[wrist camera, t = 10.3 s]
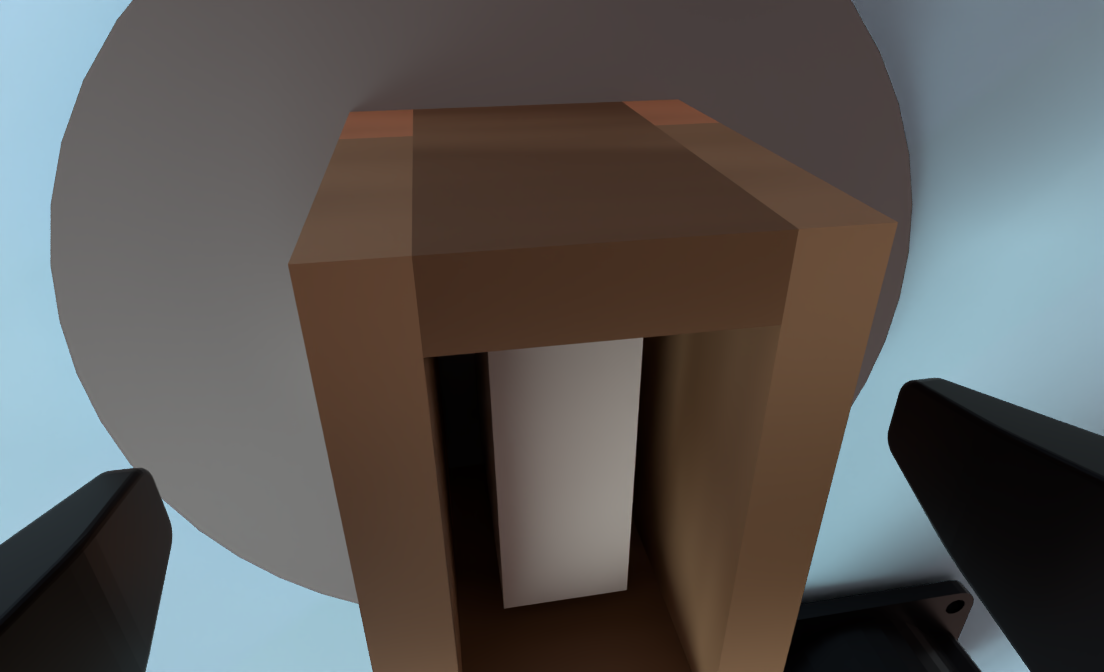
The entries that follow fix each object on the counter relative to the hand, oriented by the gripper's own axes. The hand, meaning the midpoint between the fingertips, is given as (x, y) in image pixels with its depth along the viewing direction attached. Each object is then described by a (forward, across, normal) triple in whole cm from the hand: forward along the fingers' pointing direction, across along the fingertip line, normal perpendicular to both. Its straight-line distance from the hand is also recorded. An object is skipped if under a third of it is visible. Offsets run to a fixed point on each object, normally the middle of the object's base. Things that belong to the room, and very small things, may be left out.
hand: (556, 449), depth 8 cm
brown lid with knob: (+4, 0, 0) cm, 4 cm away
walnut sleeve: (+3, 0, 0) cm, 3 cm away
